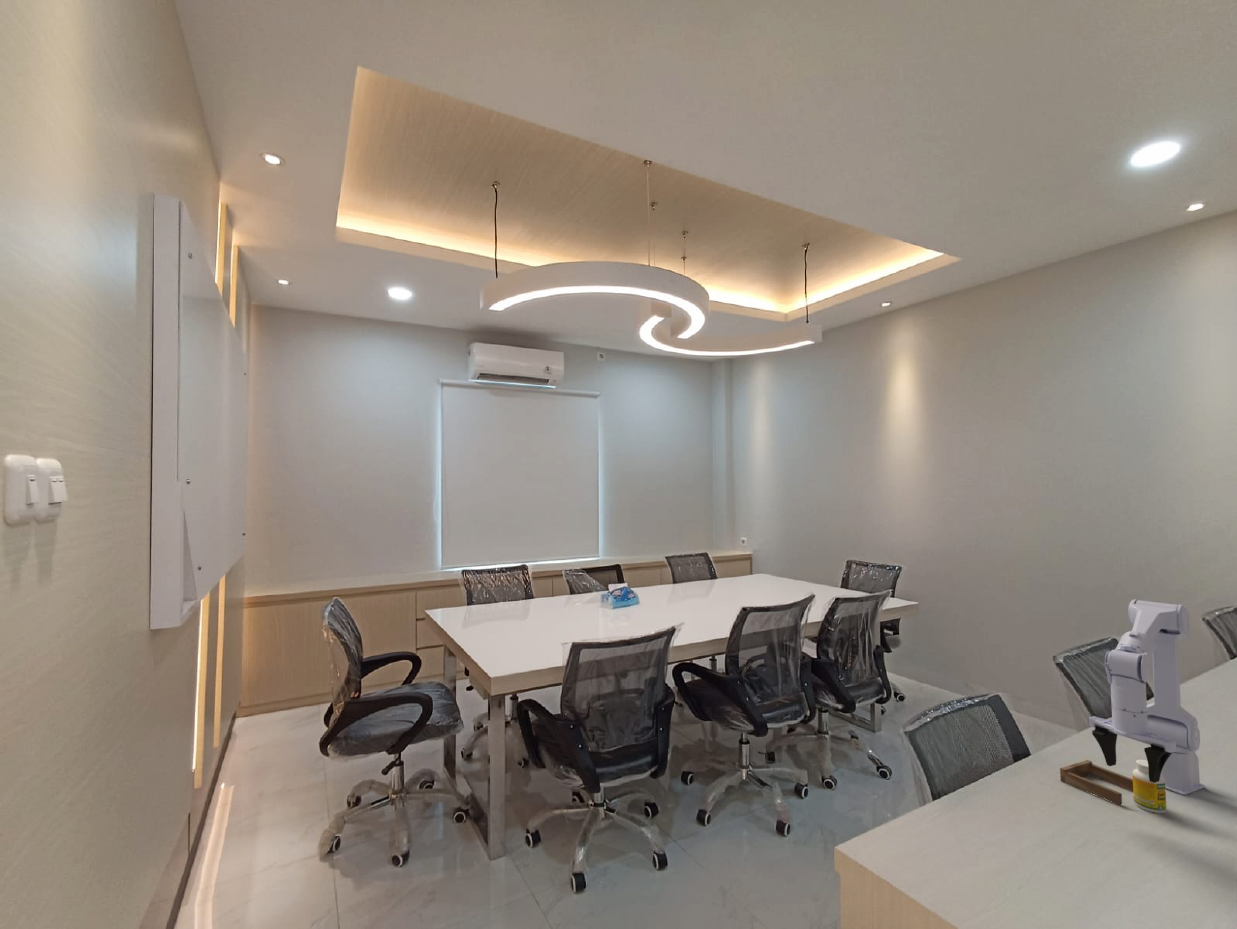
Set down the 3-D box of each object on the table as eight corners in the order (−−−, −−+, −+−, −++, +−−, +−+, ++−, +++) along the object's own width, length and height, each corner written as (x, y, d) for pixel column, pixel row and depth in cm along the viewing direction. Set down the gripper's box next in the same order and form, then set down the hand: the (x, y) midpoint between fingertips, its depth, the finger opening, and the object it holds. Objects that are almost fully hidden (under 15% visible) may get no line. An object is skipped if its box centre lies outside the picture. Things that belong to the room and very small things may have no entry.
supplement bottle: (1138, 798, 130) (1136, 755, 131) (1169, 809, 126) (1167, 765, 126) (1130, 805, 127) (1128, 762, 128) (1162, 817, 123) (1160, 771, 123)
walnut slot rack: (1087, 772, 142) (1087, 760, 143) (1147, 795, 131) (1146, 782, 132) (1060, 780, 138) (1060, 768, 138) (1119, 805, 127) (1118, 792, 127)
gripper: (1079, 699, 127) (1082, 761, 127) (1160, 723, 114) (1164, 793, 113) (1098, 695, 130) (1101, 755, 129) (1180, 718, 116) (1184, 786, 116)
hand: (1132, 772), depth 121 cm, fingers open, 7 cm apart
